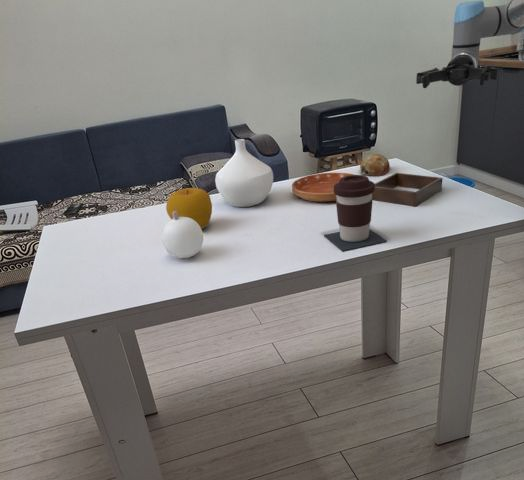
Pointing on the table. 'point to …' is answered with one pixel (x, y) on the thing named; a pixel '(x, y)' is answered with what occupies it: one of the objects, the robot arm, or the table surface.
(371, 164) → the bread roll
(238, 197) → the vase
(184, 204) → the apple
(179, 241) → the ornament
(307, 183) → the saucer
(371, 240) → the mat
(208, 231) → the table surface
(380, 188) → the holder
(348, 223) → the coffee cup
